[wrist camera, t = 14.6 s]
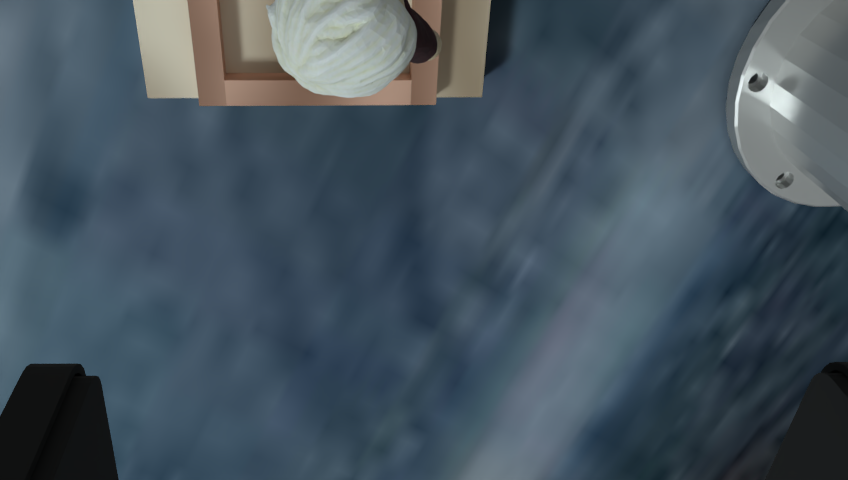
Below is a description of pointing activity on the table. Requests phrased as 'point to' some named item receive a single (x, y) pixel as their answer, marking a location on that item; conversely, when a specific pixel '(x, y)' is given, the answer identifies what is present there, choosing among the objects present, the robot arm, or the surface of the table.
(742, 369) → the table surface
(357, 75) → the grandmother figurine
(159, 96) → the display base
